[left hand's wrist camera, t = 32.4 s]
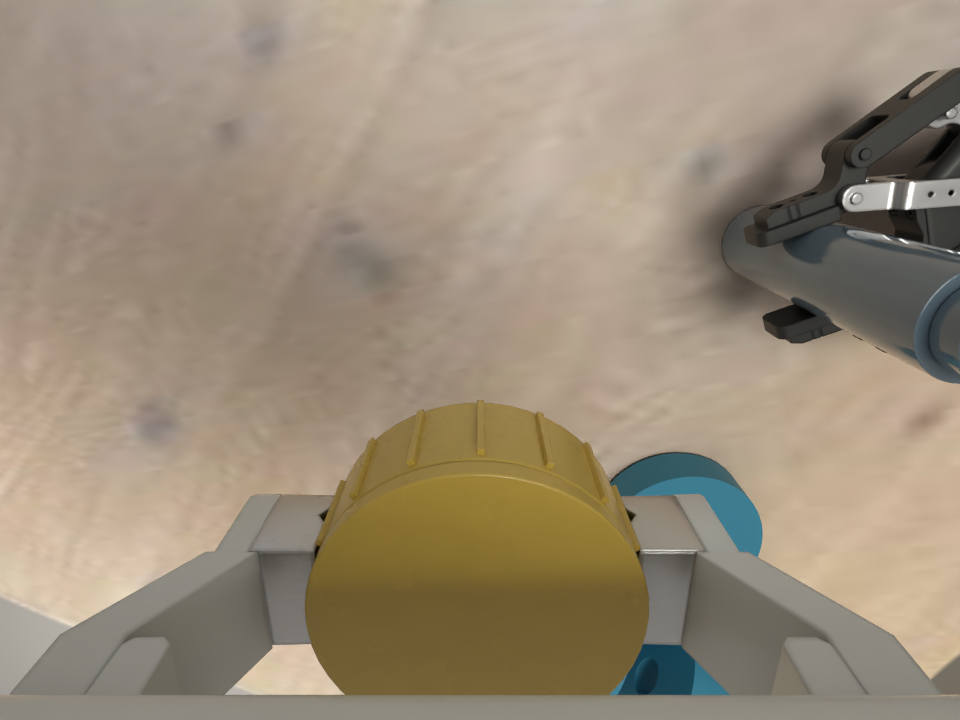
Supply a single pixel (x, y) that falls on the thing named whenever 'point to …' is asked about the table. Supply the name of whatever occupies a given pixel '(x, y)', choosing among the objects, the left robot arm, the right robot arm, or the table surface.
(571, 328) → the table surface
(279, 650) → the table surface
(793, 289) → the grey long cylinder
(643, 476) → the camera mount
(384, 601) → the lid
